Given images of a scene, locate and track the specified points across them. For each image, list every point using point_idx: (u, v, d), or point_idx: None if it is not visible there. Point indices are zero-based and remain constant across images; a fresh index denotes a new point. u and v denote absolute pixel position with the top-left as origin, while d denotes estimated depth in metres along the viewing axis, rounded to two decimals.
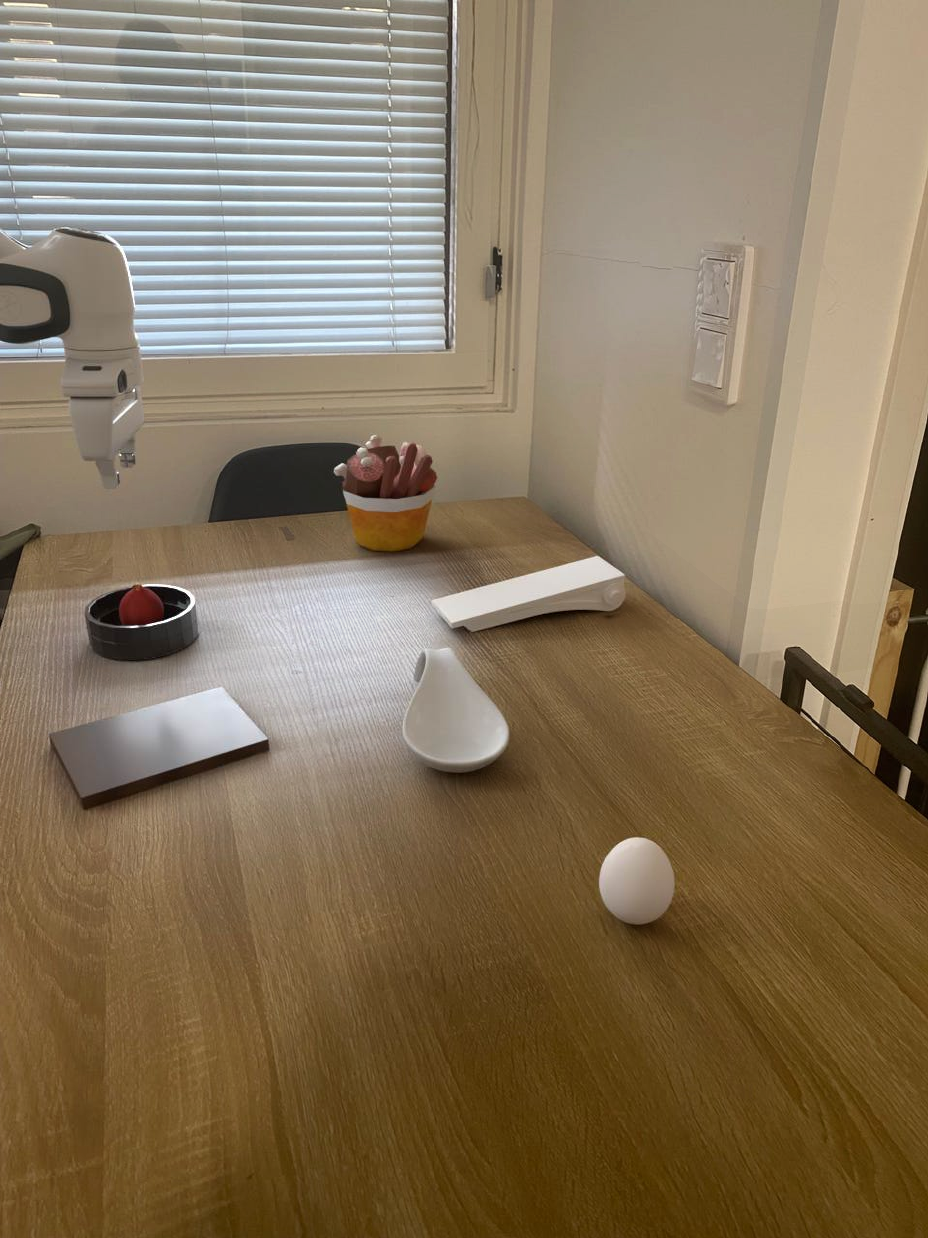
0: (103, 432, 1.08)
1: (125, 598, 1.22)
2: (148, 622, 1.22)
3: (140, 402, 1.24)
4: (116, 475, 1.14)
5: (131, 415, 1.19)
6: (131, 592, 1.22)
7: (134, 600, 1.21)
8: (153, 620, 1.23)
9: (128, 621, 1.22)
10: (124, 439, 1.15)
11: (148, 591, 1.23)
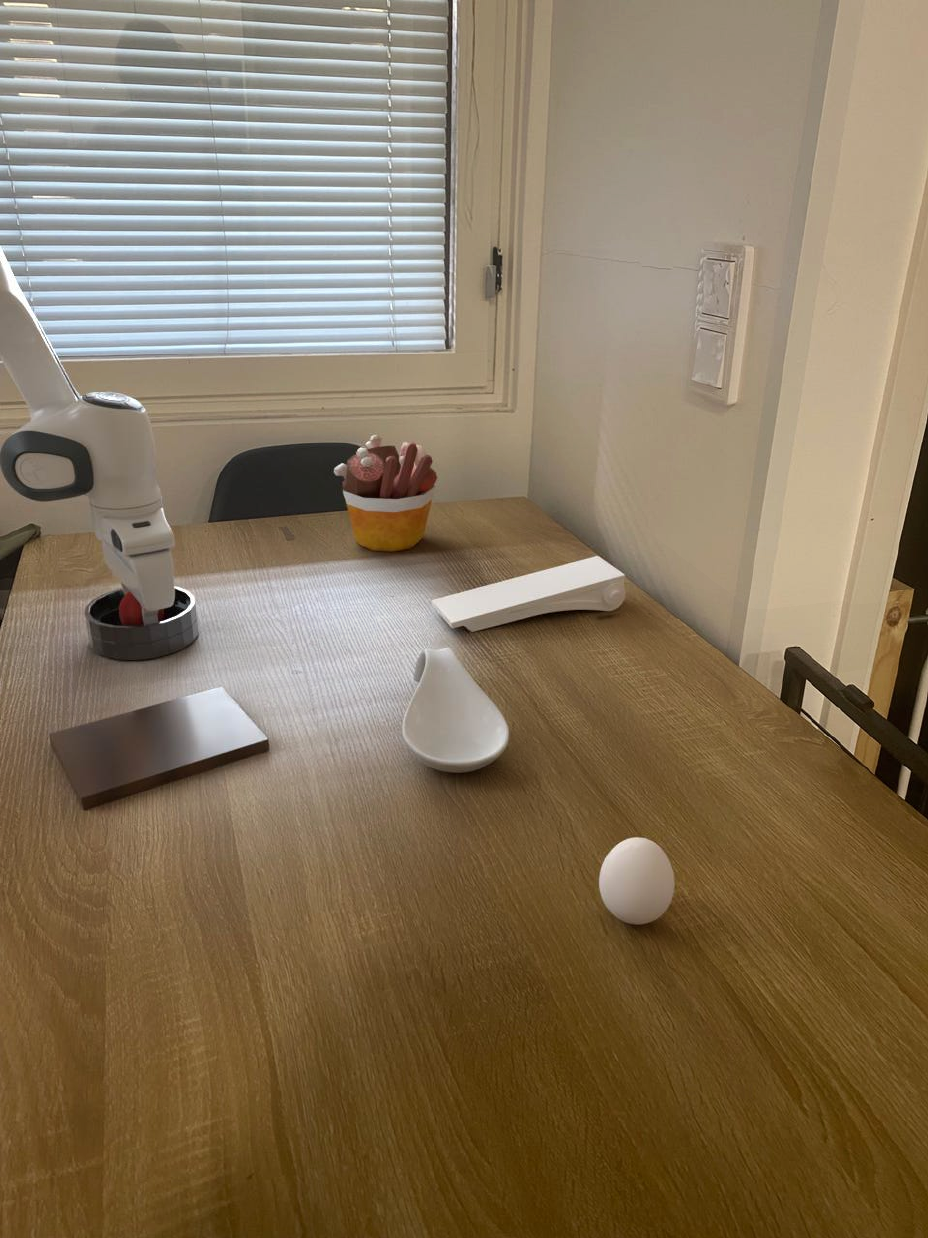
0: (169, 582, 1.14)
1: (125, 598, 1.22)
2: None
3: None
4: (156, 614, 1.21)
5: None
6: None
7: (134, 600, 1.21)
8: None
9: (128, 621, 1.22)
10: None
11: None
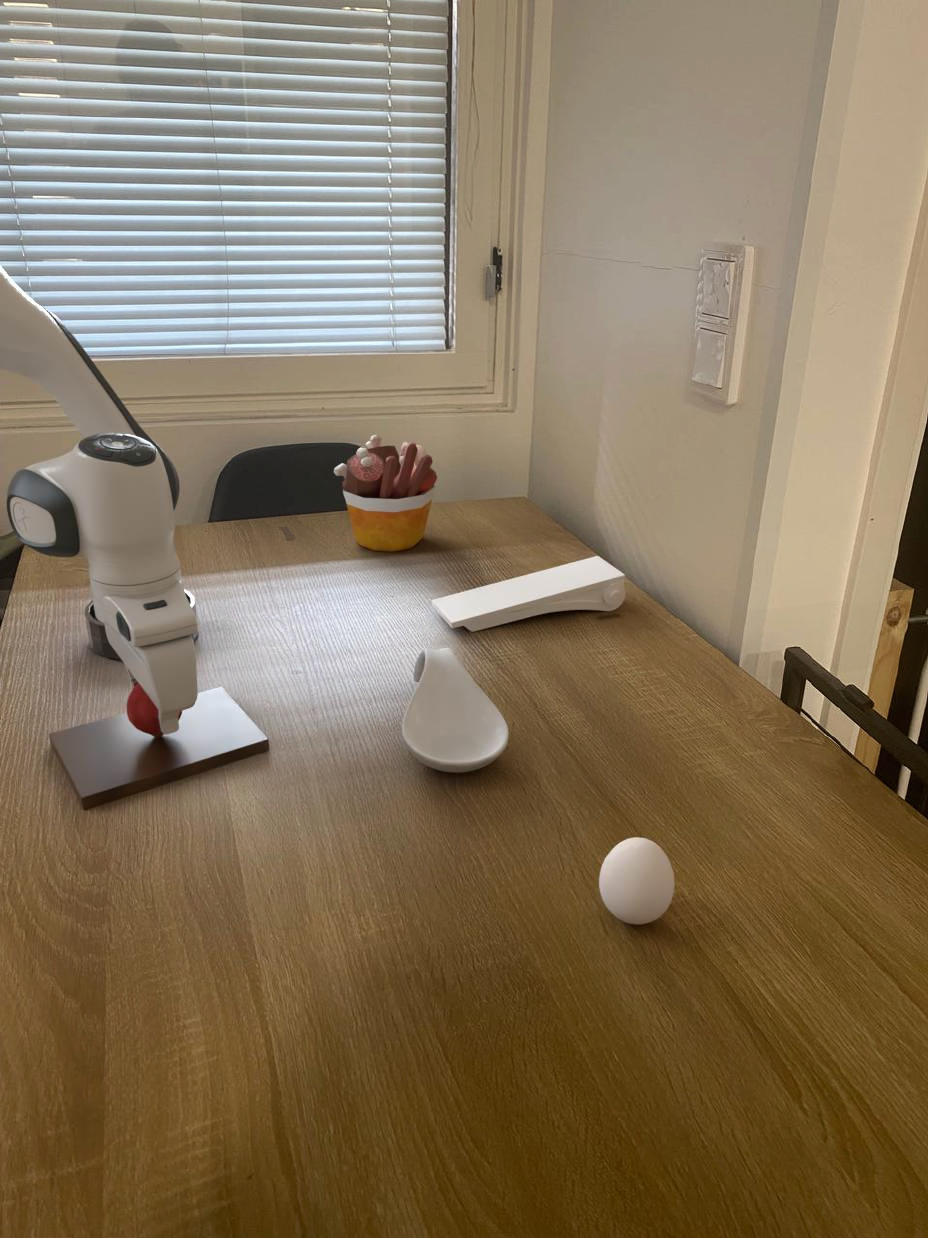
0: (190, 679, 0.89)
1: (134, 692, 0.97)
2: None
3: None
4: None
5: None
6: None
7: (146, 695, 0.97)
8: None
9: (138, 721, 0.97)
10: None
11: None
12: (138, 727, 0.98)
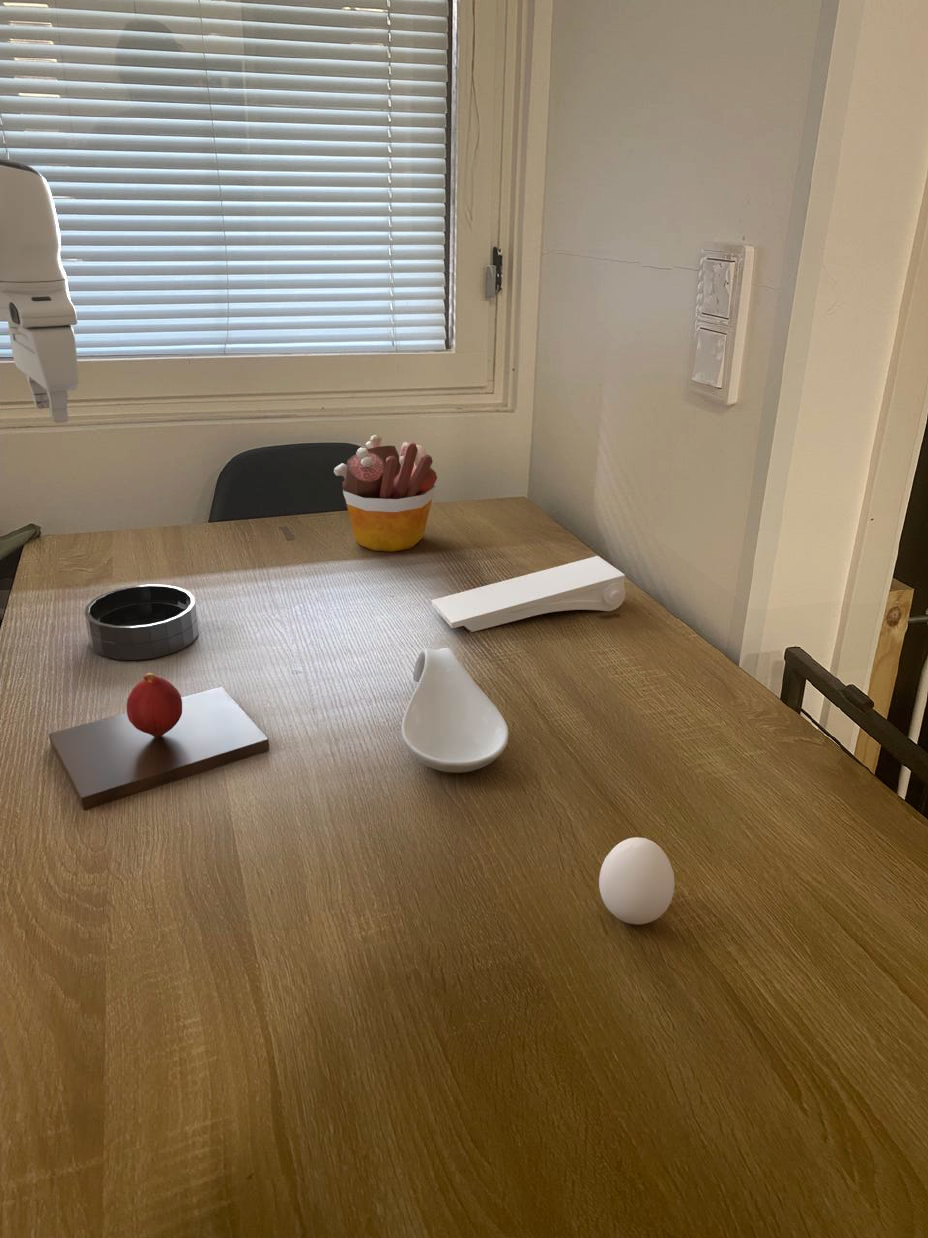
0: (70, 361, 1.09)
1: (134, 692, 0.97)
2: (163, 722, 0.98)
3: None
4: None
5: None
6: (142, 684, 0.97)
7: (146, 695, 0.97)
8: (170, 719, 0.98)
9: (138, 721, 0.97)
10: None
11: (163, 682, 0.98)
12: (138, 727, 0.98)
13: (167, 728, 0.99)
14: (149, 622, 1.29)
